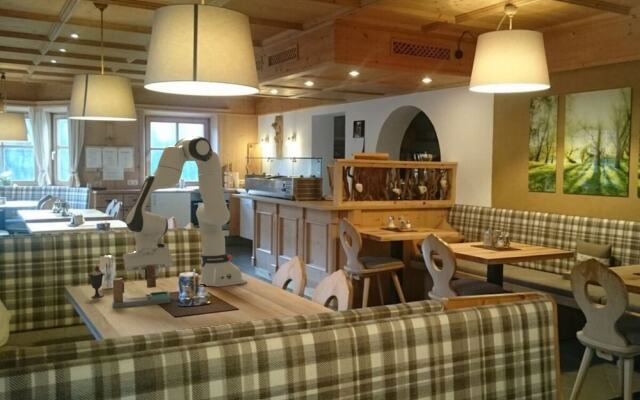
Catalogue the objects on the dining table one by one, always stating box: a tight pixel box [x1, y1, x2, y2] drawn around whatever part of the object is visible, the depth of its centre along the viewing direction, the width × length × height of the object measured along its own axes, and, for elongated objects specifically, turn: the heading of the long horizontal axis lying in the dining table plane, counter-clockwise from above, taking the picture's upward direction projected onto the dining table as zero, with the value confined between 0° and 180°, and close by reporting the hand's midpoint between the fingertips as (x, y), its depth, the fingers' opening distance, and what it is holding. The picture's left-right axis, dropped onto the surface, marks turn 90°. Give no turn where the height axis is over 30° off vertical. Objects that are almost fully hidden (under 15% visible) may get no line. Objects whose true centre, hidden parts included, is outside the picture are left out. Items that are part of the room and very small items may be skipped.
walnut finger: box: [144, 265, 157, 289], centre depth 251 cm, size 4×4×9 cm
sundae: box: [88, 263, 104, 299], centre depth 253 cm, size 7×7×15 cm
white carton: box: [99, 254, 116, 290], centre depth 273 cm, size 7×7×15 cm
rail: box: [112, 277, 171, 309], centre depth 239 cm, size 22×7×11 cm, turn 111°
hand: (150, 275), depth 250 cm, fingers closed on walnut finger, 4 cm apart
